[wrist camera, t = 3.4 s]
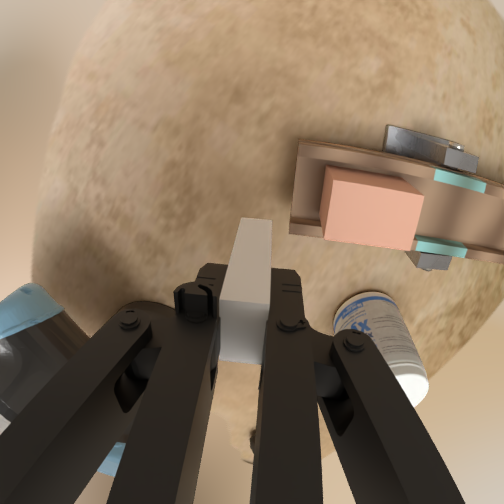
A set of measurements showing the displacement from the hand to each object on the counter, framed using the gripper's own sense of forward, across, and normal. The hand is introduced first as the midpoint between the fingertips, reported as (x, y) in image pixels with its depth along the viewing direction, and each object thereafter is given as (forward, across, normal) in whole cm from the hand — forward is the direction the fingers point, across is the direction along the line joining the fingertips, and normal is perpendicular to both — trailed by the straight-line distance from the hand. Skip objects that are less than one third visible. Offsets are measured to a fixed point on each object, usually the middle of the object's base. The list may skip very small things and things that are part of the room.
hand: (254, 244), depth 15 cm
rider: (+12, +9, 0) cm, 15 cm away
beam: (+17, +18, 0) cm, 25 cm away
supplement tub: (+19, +16, -19) cm, 31 cm away
